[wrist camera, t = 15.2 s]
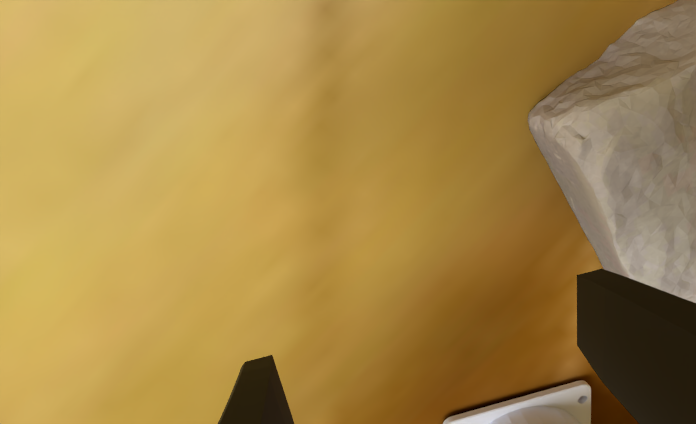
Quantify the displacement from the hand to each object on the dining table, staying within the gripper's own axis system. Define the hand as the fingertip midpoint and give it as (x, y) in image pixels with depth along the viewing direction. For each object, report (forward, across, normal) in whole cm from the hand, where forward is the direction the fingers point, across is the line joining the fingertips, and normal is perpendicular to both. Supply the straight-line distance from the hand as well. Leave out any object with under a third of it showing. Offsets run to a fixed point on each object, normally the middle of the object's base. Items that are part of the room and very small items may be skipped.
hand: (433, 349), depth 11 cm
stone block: (+10, -14, +1) cm, 17 cm away
